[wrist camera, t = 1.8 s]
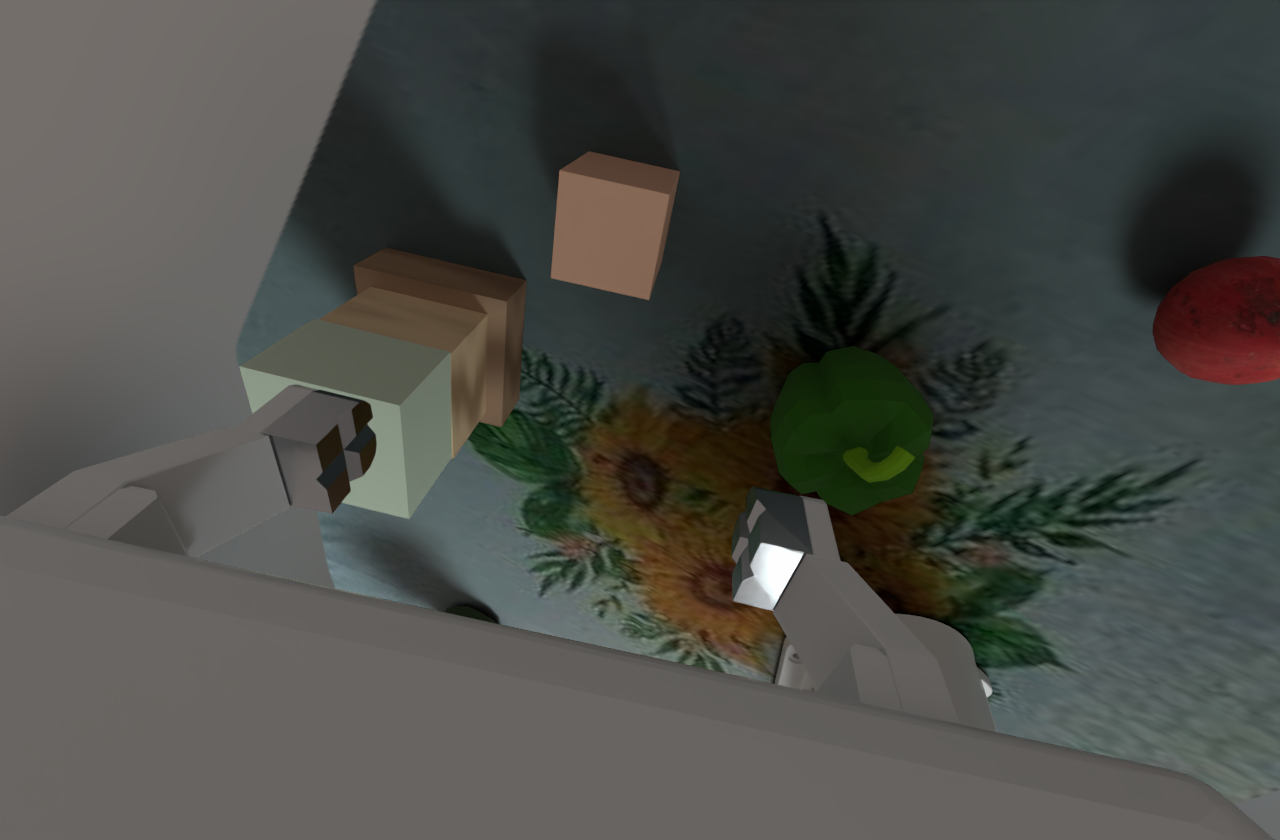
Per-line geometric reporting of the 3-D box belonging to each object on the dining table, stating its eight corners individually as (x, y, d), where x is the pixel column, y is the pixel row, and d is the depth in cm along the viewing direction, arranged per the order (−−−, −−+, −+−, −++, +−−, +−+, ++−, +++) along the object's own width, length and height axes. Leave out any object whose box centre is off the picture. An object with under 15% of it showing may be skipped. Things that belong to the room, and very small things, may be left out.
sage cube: (451, 457, 31) (409, 519, 26) (334, 428, 31) (272, 485, 26) (450, 351, 27) (399, 405, 22) (314, 318, 27) (239, 366, 22)
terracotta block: (661, 262, 31) (648, 300, 26) (579, 243, 31) (550, 278, 26) (680, 171, 28) (669, 194, 23) (589, 151, 28) (559, 170, 24)
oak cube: (485, 411, 35) (453, 458, 31) (382, 387, 35) (335, 431, 31) (487, 314, 31) (450, 353, 27) (370, 286, 31) (315, 321, 27)
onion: (1108, 275, 28) (1222, 340, 22) (1247, 214, 26) (1423, 267, 19) (1129, 359, 31) (1238, 441, 24) (1259, 311, 28) (1419, 387, 22)
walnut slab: (520, 395, 39) (501, 426, 35) (401, 367, 39) (370, 395, 35) (528, 277, 33) (506, 301, 30) (390, 245, 33) (353, 265, 30)
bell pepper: (800, 456, 38) (820, 567, 29) (745, 367, 34) (749, 464, 26) (923, 408, 34) (985, 518, 26) (875, 303, 31) (928, 392, 23)
